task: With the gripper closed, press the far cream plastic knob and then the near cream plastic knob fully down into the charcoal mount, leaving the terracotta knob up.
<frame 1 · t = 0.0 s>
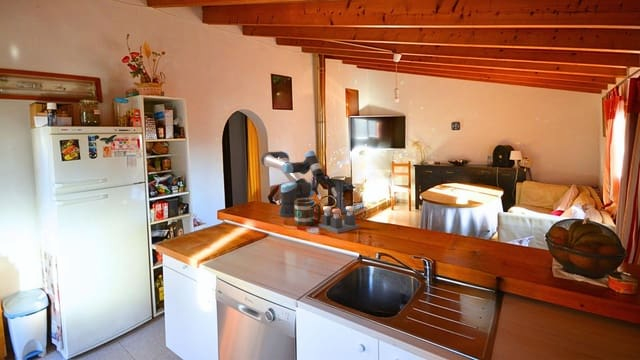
hand: (328, 197, 236), 15 cm above the countertop, tool tilted 35°, fingers open, 13 cm apart
knob mount: (338, 227, 218), on the countertop
terracotta knob: (336, 216, 210), point 9 cm above the countertop, slide at 0.0 cm
mug: (308, 224, 228), on the countertop
cream knob near: (327, 213, 217), point 9 cm above the countertop, slide at 0.0 cm
cream knob left: (349, 213, 217), point 9 cm above the countertop, slide at 0.0 cm
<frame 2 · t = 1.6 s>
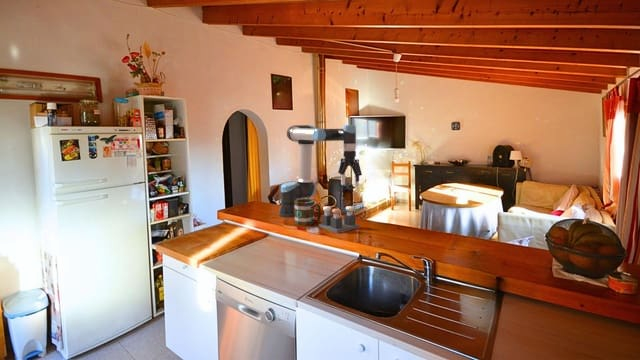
hand: (349, 185, 214), 26 cm above the countertop, tool pointing down, fingers open, 11 cm apart
nothing on the countertop moved.
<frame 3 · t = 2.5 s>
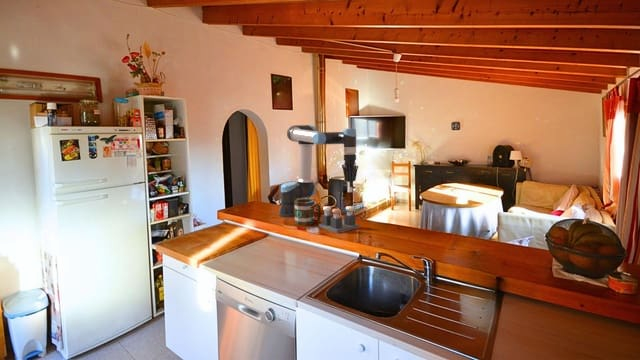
hand: (350, 191, 215), 23 cm above the countertop, tool pointing down, fingers closed
nothing on the countertop moved.
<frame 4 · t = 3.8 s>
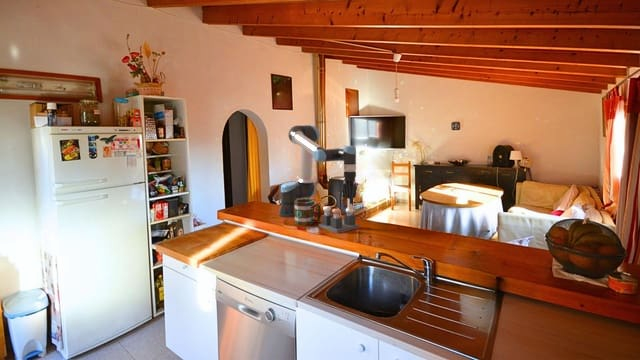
hand: (349, 208, 216), 12 cm above the countertop, tool pointing down, fingers closed
cream knob left: (349, 215, 217), point 8 cm above the countertop, slide at 1.2 cm, touching gripper
everything else where it was.
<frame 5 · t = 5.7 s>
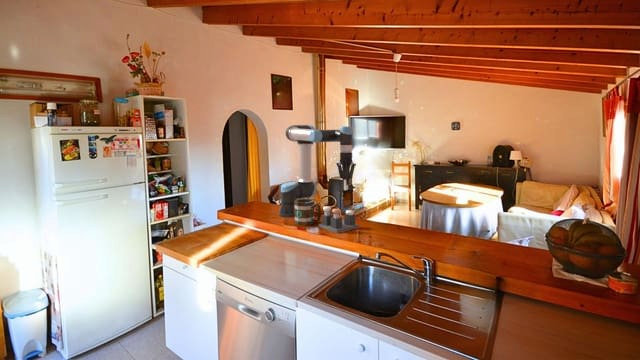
hand: (345, 189, 215), 24 cm above the countertop, tool pointing down, fingers closed
cream knob left: (349, 217, 217), point 6 cm above the countertop, slide at 2.5 cm
everything else where it was.
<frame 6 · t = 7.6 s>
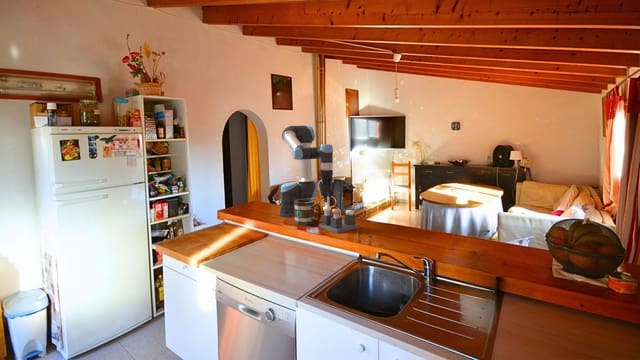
hand: (327, 206, 217), 13 cm above the countertop, tool pointing down, fingers closed
cream knob near: (327, 213, 217), point 9 cm above the countertop, slide at 0.0 cm, touching gripper
everything else where it was.
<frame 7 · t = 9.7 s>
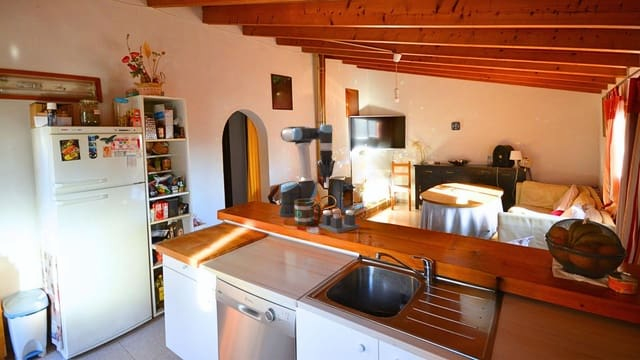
hand: (326, 187, 217), 25 cm above the countertop, tool pointing down, fingers closed
cream knob near: (327, 217, 218), point 6 cm above the countertop, slide at 2.5 cm
everything else where it was.
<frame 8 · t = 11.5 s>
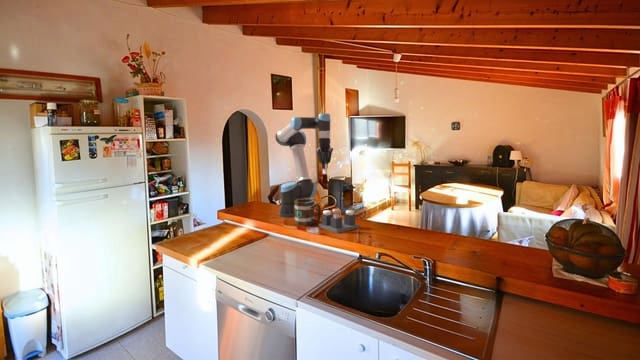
hand: (324, 173, 228), 32 cm above the countertop, tool pointing down, fingers closed
nothing on the countertop moved.
at the end: cream knob left slide at 2.5 cm; cream knob near slide at 2.5 cm; terracotta knob slide at 0.0 cm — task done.
